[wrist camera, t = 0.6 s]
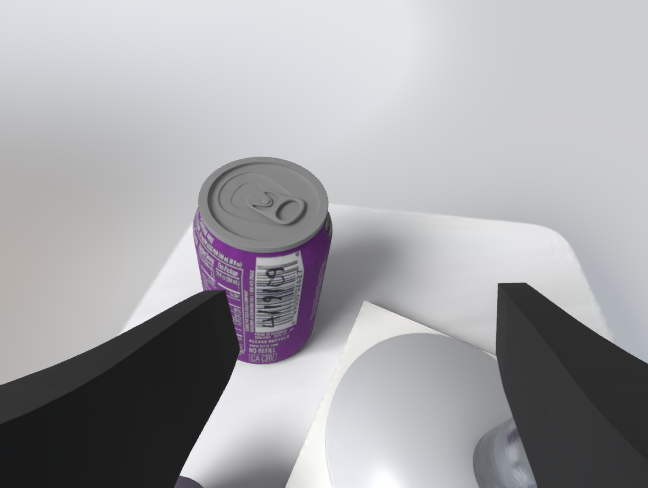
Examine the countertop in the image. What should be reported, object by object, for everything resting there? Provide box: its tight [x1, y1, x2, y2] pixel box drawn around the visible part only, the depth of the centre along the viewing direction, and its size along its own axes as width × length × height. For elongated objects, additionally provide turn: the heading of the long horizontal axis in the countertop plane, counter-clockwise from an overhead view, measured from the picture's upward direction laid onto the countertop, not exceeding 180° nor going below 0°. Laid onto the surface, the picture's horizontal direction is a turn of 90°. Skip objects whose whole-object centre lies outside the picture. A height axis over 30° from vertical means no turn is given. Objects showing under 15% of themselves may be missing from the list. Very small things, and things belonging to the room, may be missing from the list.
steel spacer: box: [473, 416, 537, 488], centre depth 20 cm, size 4×4×6 cm
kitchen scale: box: [285, 301, 512, 488], centre depth 23 cm, size 15×14×3 cm
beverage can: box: [193, 157, 332, 364], centre depth 24 cm, size 7×7×12 cm
